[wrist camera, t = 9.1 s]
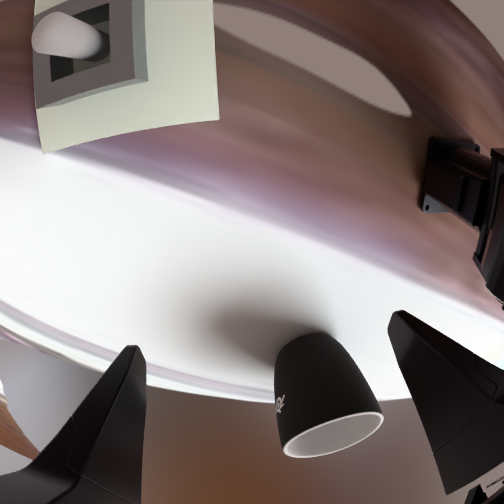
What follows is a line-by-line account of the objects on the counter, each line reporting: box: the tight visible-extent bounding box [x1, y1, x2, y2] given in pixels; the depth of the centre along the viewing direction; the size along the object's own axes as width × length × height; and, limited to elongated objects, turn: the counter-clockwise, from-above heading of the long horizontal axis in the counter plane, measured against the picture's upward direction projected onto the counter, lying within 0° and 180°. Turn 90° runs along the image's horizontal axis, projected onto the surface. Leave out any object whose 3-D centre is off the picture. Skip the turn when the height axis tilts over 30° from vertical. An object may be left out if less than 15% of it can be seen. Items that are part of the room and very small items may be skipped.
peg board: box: [31, 0, 219, 154], centre depth 10 cm, size 12×12×7 cm
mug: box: [274, 334, 383, 458], centre depth 25 cm, size 12×9×10 cm
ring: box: [33, 0, 148, 109], centre depth 11 cm, size 6×6×3 cm
